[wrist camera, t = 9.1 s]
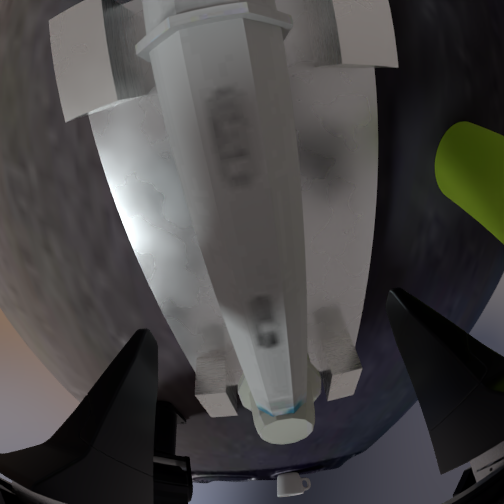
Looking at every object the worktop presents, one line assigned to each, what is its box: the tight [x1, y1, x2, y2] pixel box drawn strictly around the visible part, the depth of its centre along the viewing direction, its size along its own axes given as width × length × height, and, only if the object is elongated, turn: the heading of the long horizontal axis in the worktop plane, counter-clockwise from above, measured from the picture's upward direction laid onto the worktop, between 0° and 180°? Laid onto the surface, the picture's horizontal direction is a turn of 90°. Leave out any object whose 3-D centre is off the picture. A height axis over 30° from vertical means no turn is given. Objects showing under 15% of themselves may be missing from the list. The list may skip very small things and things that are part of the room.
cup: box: [277, 472, 311, 497], centre depth 61 cm, size 11×8×8 cm
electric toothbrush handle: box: [135, 0, 321, 444], centre depth 11 cm, size 5×7×25 cm
